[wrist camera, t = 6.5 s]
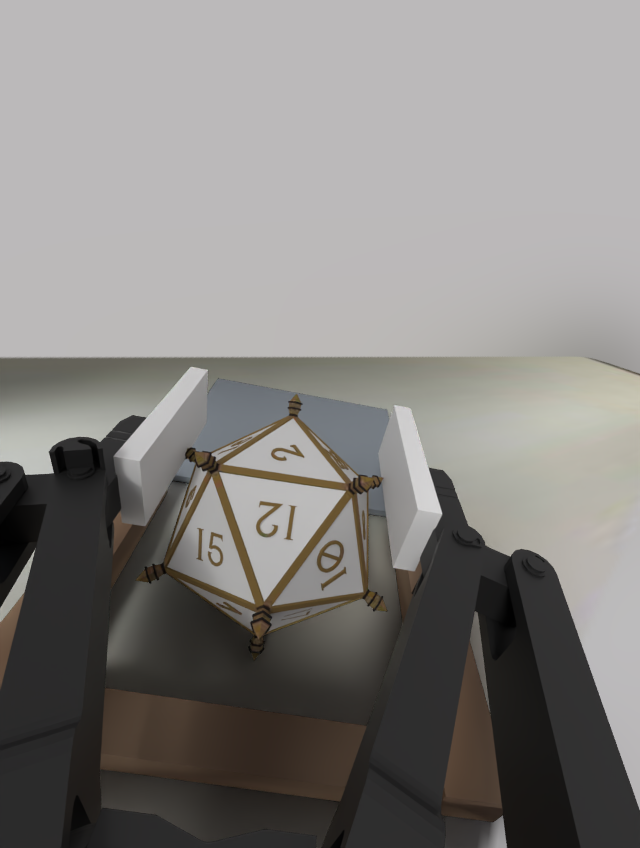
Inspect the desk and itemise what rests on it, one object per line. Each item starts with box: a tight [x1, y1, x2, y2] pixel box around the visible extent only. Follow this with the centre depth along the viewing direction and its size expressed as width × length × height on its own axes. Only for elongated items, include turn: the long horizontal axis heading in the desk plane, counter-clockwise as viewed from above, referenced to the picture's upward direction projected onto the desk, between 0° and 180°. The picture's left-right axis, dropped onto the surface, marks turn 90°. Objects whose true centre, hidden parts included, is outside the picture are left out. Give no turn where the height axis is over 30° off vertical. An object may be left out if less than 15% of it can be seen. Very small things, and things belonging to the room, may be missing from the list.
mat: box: [173, 378, 389, 517], centre depth 26 cm, size 14×12×1 cm
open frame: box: [0, 490, 503, 822], centre depth 15 cm, size 16×11×2 cm
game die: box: [136, 394, 387, 660], centre depth 15 cm, size 9×8×10 cm
